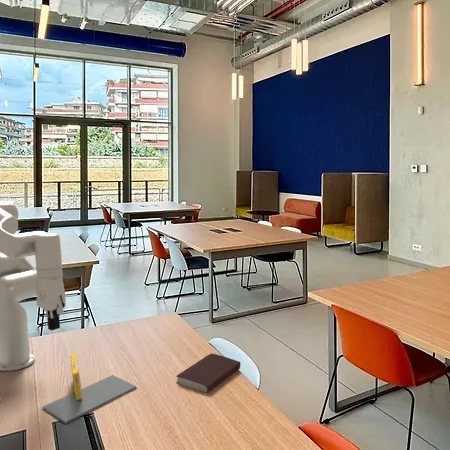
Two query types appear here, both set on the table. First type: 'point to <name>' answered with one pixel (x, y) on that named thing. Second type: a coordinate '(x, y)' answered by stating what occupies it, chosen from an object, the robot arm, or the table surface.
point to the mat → (89, 398)
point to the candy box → (76, 377)
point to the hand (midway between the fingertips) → (54, 328)
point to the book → (208, 372)
